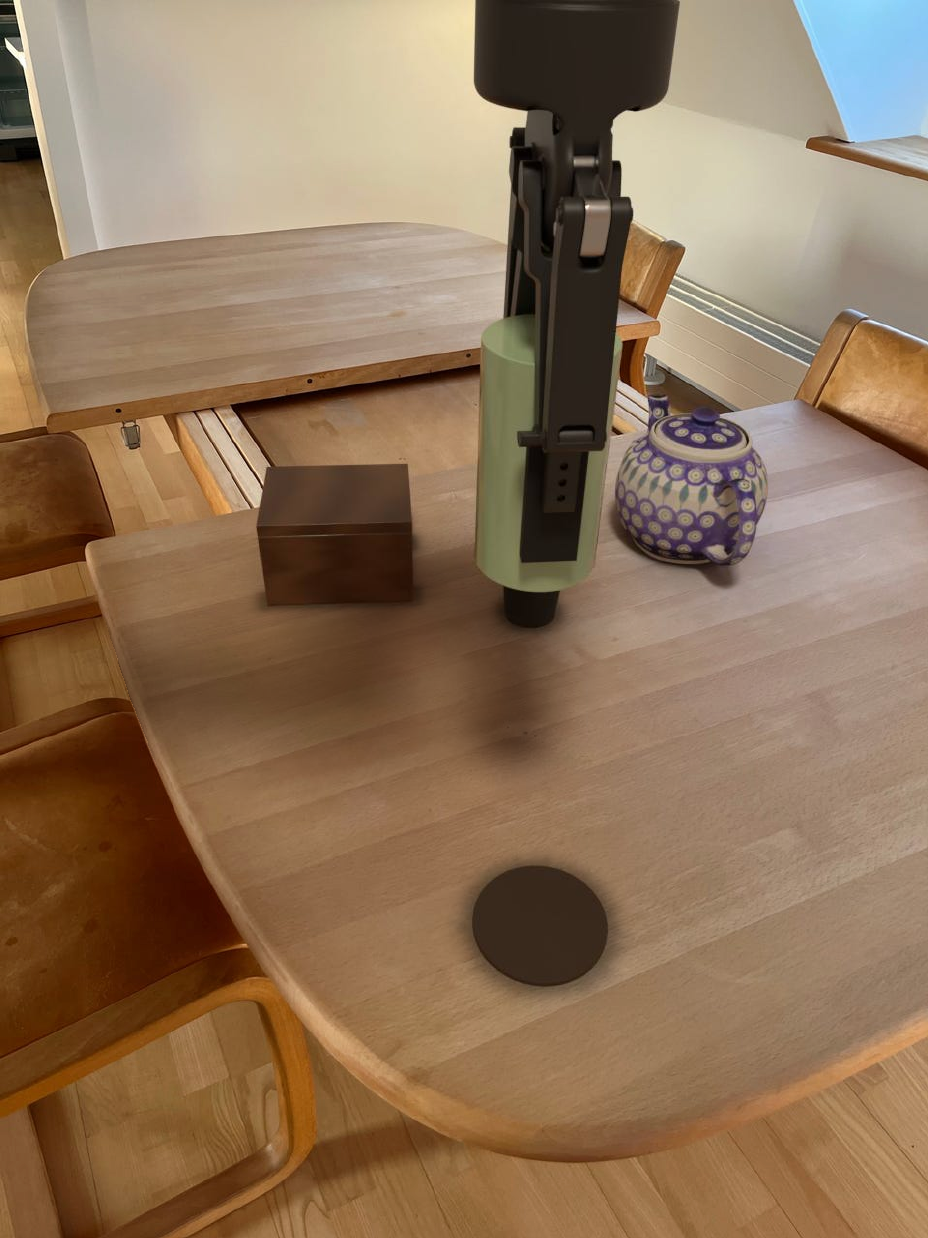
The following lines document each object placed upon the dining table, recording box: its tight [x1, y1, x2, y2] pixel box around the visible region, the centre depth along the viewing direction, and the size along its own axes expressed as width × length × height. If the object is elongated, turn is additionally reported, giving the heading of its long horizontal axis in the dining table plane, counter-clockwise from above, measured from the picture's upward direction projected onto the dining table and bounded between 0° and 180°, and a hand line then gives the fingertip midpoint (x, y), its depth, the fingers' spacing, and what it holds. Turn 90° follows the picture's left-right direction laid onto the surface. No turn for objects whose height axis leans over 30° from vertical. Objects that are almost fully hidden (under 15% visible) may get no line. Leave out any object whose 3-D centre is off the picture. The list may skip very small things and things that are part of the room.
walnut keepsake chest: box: [255, 463, 414, 606], centre depth 92 cm, size 14×11×9 cm
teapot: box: [614, 394, 769, 567], centre depth 96 cm, size 25×15×15 cm, turn 9°
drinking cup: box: [502, 585, 561, 629], centre depth 83 cm, size 8×8×20 cm
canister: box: [473, 314, 623, 592], centre depth 46 cm, size 6×6×12 cm
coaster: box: [471, 865, 609, 987], centre depth 62 cm, size 9×9×1 cm
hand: (536, 518), depth 48 cm, fingers closed on canister, 6 cm apart
